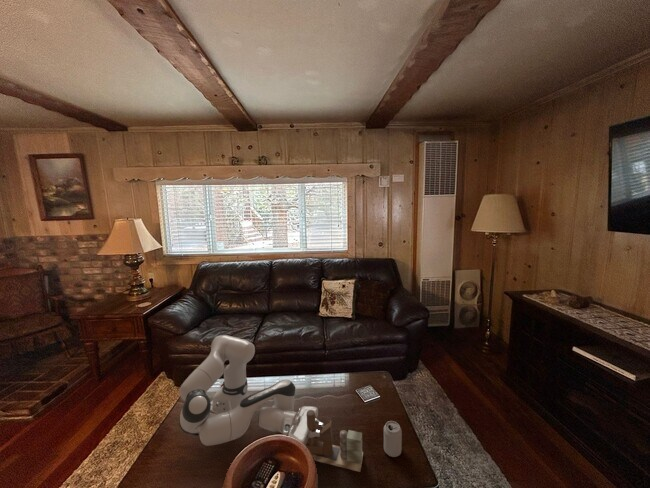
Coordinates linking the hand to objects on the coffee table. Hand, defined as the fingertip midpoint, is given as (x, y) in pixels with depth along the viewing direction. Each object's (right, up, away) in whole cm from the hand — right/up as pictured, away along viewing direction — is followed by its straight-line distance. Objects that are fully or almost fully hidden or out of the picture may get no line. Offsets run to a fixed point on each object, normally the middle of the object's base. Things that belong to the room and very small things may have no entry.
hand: (321, 429), depth 114 cm
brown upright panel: (-1, -10, +1) cm, 10 cm away
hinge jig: (+5, -11, 0) cm, 13 cm away
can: (+31, -11, +2) cm, 33 cm away
